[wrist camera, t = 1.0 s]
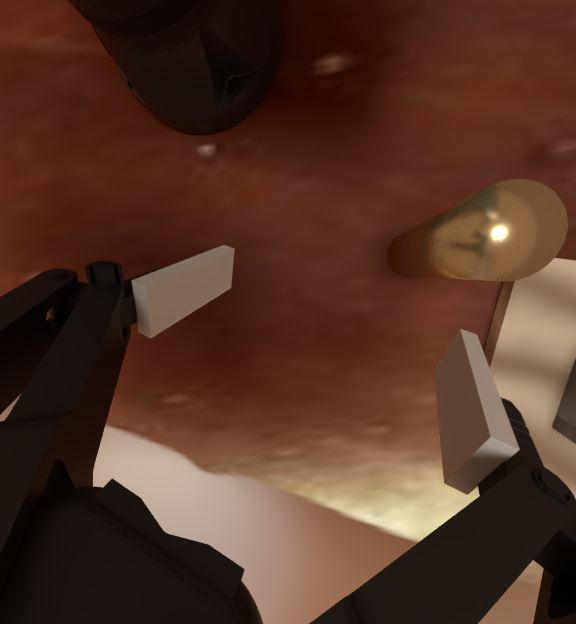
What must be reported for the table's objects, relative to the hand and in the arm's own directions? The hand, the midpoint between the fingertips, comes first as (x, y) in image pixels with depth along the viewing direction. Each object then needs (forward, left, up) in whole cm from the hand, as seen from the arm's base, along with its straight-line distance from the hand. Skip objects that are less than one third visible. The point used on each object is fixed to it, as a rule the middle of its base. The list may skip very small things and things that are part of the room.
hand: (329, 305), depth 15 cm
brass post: (-4, +7, -11) cm, 14 cm away
